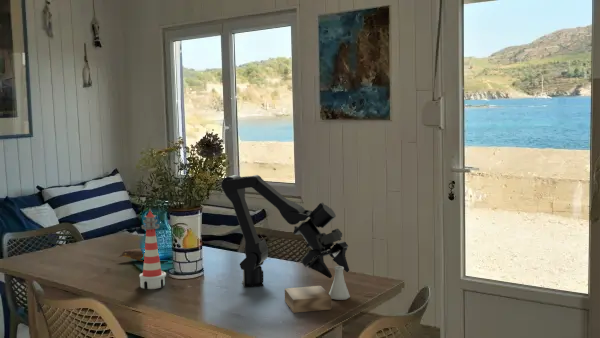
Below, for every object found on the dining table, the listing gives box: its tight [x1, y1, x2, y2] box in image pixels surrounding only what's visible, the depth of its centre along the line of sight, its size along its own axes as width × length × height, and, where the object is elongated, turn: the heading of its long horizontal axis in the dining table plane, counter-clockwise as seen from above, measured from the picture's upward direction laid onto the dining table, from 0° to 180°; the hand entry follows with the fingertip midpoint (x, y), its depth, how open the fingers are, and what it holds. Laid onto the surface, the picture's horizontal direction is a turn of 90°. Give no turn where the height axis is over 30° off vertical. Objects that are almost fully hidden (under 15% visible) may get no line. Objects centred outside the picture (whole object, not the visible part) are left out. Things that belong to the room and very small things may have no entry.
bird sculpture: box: [117, 248, 144, 262], centre depth 252 cm, size 7×25×5 cm, turn 102°
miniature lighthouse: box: [138, 208, 167, 290], centre depth 215 cm, size 9×9×30 cm
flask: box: [328, 265, 351, 301], centre depth 202 cm, size 7×7×10 cm
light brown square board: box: [284, 285, 332, 313], centre depth 194 cm, size 12×12×4 cm
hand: (339, 274), depth 201 cm, fingers open, 9 cm apart
